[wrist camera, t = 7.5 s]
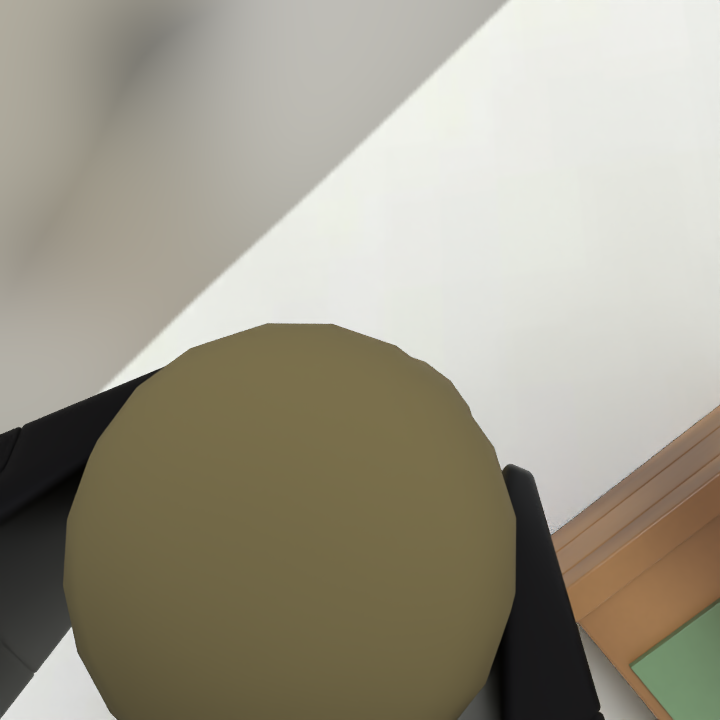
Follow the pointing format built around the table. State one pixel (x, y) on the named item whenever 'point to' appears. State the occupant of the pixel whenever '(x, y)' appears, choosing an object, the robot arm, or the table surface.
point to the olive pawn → (291, 537)
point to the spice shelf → (655, 575)
